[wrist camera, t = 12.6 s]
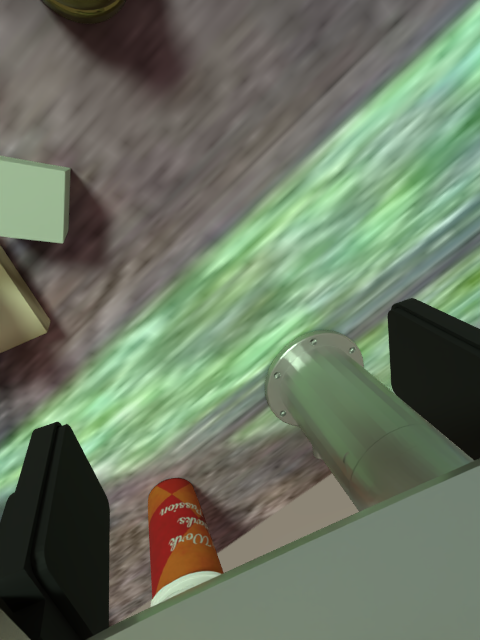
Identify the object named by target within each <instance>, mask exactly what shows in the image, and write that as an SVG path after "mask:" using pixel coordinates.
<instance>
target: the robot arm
mask: <svg viewBox="0 0 480 640" xmlns="http://www.w3.org/2000/svg"><path fill="white" fill-rule="evenodd" d="M388 331H389V350H390V369H391V385H392V389H393V391H394V392H395V394H396V395H397V396H396V395H395V394H394V393H393V392H392V391H390V390H389V389H388V388H387V387H386V386H385V385H383V384H382V383H381V382H380V381H379V380H377V379H376V378H375V377H374V376H373V375H371V374H370V373H369V372H368V371H367V370H366V369H364V363H363V357H362V354H361V352H360V350H359V348H358V347H357V345H356V344H355V343H354V342H353V341H352V340H350V339H349V338H348V337H346V336H345V335H343V334H341V333H339V332H336V331H330V330H319V331H314V332H310V333H306V334H304V335H302V336H300V337H298V338H296V339H295V340H293V341H292V342H290V343H289V344H288V345H286V346H285V347H284V348H283V349H282V350H281V351H280V352H279V354H278V355H277V356H276V357H275V359H274V360H273V362H272V364H271V366H270V367H269V370H268V373H267V376H266V380H265V397H266V400H267V403H268V405H269V407H270V408H271V410H272V411H273V413H274V414H275V415H276V417H278V418H279V419H280V420H282V421H283V422H285V423H288V424H290V425H295V426H299V427H300V428H301V430H302V431H303V432H304V434H305V435H306V437H307V438H308V440H309V441H310V442H311V444H312V448H313V455H314V456H315V457H316V458H317V459H323V461H324V462H325V464H326V465H327V466H328V468H329V469H330V471H331V472H332V474H333V475H334V476H335V478H336V479H337V481H338V482H339V483H340V485H341V486H342V488H343V489H344V491H345V492H346V493H347V495H348V496H349V497H350V499H351V500H352V502H353V504H354V505H355V506H356V507H357V509H358V510H359V512H358V513H356V514H354V515H351V516H349V517H347V518H345V519H342V520H340V521H338V522H336V523H333V524H331V525H329V526H327V527H324V528H322V529H320V530H318V531H316V532H313V533H311V534H309V535H307V536H304V537H303V538H300V539H298V540H296V541H294V542H291V543H289V544H287V545H285V546H282V547H280V548H278V549H276V550H274V551H271V552H269V553H267V554H265V555H263V556H260V557H258V558H256V559H254V560H252V561H249V562H247V563H245V564H243V565H241V566H239V567H236V568H234V569H232V570H230V571H228V572H225V573H223V574H221V575H219V576H216V577H214V578H212V579H210V580H208V581H205V582H203V583H201V584H199V585H197V586H195V587H192V588H190V589H188V590H186V591H184V592H182V593H180V594H178V595H175V596H173V597H171V598H169V599H167V600H165V601H163V602H161V603H159V604H157V605H154V606H152V607H150V608H148V609H146V610H144V611H142V612H140V613H138V614H136V615H134V616H131V617H129V618H127V619H125V620H123V621H121V622H119V623H117V624H115V625H113V626H111V627H109V525H110V509H109V503H108V499H107V496H106V494H105V492H104V490H103V489H102V487H101V485H100V483H99V481H98V479H97V477H96V475H95V473H94V471H93V469H92V467H91V465H90V464H89V462H88V460H87V458H86V456H85V454H84V452H83V450H82V448H81V446H80V444H79V442H78V440H77V439H76V437H75V435H74V433H73V431H72V429H71V427H70V426H69V425H68V424H66V425H63V426H62V425H61V424H60V423H59V422H55V423H52V424H49V425H46V426H43V427H41V428H38V429H35V430H34V431H33V433H32V436H31V439H30V443H29V446H28V450H27V453H26V457H25V460H24V463H23V467H22V470H21V474H20V477H19V481H18V484H17V487H16V491H15V493H13V494H11V495H10V496H9V498H8V500H7V502H6V506H5V509H4V512H3V515H2V519H1V522H0V640H480V329H478V328H476V327H474V326H472V325H470V324H468V323H466V322H463V321H461V320H459V319H457V318H455V317H453V316H451V315H448V314H446V313H444V312H442V311H440V310H438V309H436V308H433V307H431V306H429V305H427V304H425V303H423V302H421V301H418V300H416V299H413V298H411V299H407V300H405V301H402V302H399V303H396V304H394V305H393V306H392V308H391V311H389V312H388ZM402 400H403V401H402ZM408 405H409V406H410V407H409V406H408ZM414 410H415V411H416V412H415V411H414ZM420 415H421V416H422V417H421V416H420ZM426 420H427V421H428V422H429V423H428V422H427V421H426ZM433 426H434V427H435V428H434V427H433ZM439 431H440V432H441V433H442V434H441V433H440V432H439ZM445 436H446V437H447V438H448V439H447V438H446V437H445ZM451 441H452V442H453V443H454V444H453V443H452V442H451ZM457 446H458V447H459V448H458V447H457ZM463 451H464V452H465V453H464V452H463ZM469 456H470V457H469Z"/></svg>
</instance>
